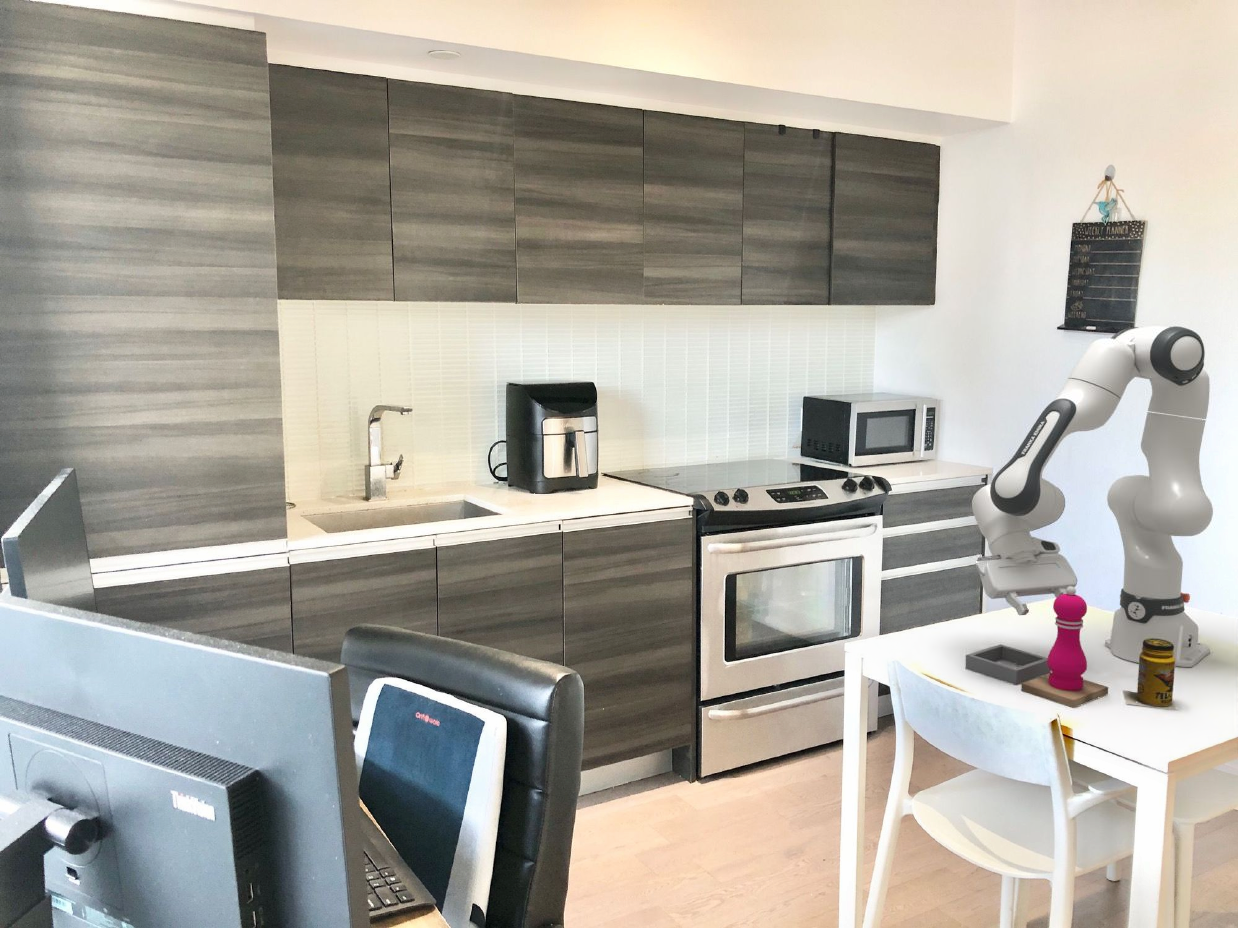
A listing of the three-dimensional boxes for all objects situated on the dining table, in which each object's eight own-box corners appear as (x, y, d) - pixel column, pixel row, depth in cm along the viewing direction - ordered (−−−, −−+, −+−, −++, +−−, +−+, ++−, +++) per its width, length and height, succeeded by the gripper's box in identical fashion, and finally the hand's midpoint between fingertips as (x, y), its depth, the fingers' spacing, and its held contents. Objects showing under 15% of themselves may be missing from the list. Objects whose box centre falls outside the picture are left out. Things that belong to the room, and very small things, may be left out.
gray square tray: (999, 657, 218) (1000, 644, 217) (1050, 672, 208) (1051, 658, 207) (965, 668, 211) (966, 654, 210) (1016, 684, 201) (1016, 670, 201)
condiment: (1176, 710, 187) (1181, 649, 186) (1126, 704, 190) (1130, 644, 189) (1171, 697, 194) (1175, 637, 192) (1122, 691, 197) (1126, 633, 195)
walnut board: (1056, 678, 205) (1056, 671, 204) (1107, 694, 196) (1108, 686, 195) (1021, 690, 198) (1021, 683, 198) (1073, 707, 189) (1073, 700, 189)
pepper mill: (1090, 692, 192) (1096, 592, 190) (1050, 690, 194) (1055, 590, 191) (1080, 679, 199) (1086, 582, 197) (1042, 677, 201) (1047, 581, 198)
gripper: (979, 549, 204) (1007, 608, 196) (1064, 542, 210) (1094, 600, 202) (965, 565, 209) (992, 623, 201) (1049, 558, 215) (1078, 615, 206)
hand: (1044, 611), depth 201 cm, fingers open, 8 cm apart
